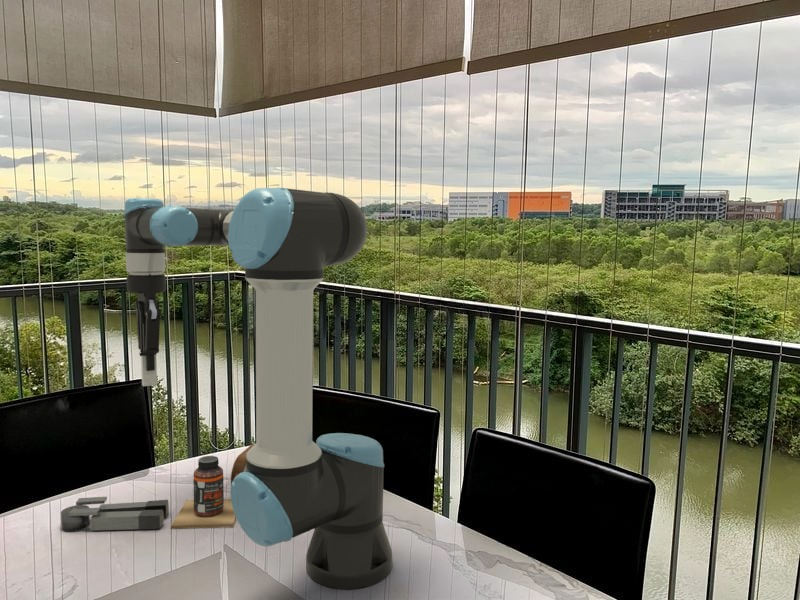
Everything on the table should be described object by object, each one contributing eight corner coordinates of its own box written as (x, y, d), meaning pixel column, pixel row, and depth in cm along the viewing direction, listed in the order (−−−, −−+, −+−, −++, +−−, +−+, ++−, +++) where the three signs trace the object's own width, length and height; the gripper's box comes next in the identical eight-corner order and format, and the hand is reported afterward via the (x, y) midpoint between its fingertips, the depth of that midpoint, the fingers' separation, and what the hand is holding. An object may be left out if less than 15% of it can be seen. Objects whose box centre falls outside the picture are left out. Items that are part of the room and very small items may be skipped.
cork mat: (232, 526, 120) (232, 524, 120) (170, 528, 119) (170, 525, 119) (242, 501, 132) (242, 498, 132) (186, 502, 131) (186, 500, 131)
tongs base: (159, 530, 119) (159, 511, 118) (55, 533, 117) (54, 514, 116) (167, 517, 124) (167, 499, 124) (68, 520, 122) (67, 501, 122)
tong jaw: (76, 523, 120) (75, 503, 120) (80, 517, 123) (79, 497, 122) (166, 517, 123) (165, 497, 123) (168, 512, 126) (168, 492, 125)
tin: (254, 472, 149) (254, 439, 148) (266, 473, 148) (266, 440, 148) (229, 498, 134) (228, 461, 133) (242, 499, 134) (242, 462, 133)
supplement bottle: (205, 520, 122) (203, 466, 120) (187, 512, 125) (186, 459, 124) (229, 510, 126) (228, 458, 125) (212, 502, 130) (211, 451, 129)
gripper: (173, 274, 122) (175, 388, 125) (157, 271, 133) (160, 376, 135) (133, 275, 118) (137, 393, 120) (120, 272, 129) (124, 381, 131)
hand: (149, 384), depth 128 cm, fingers closed
